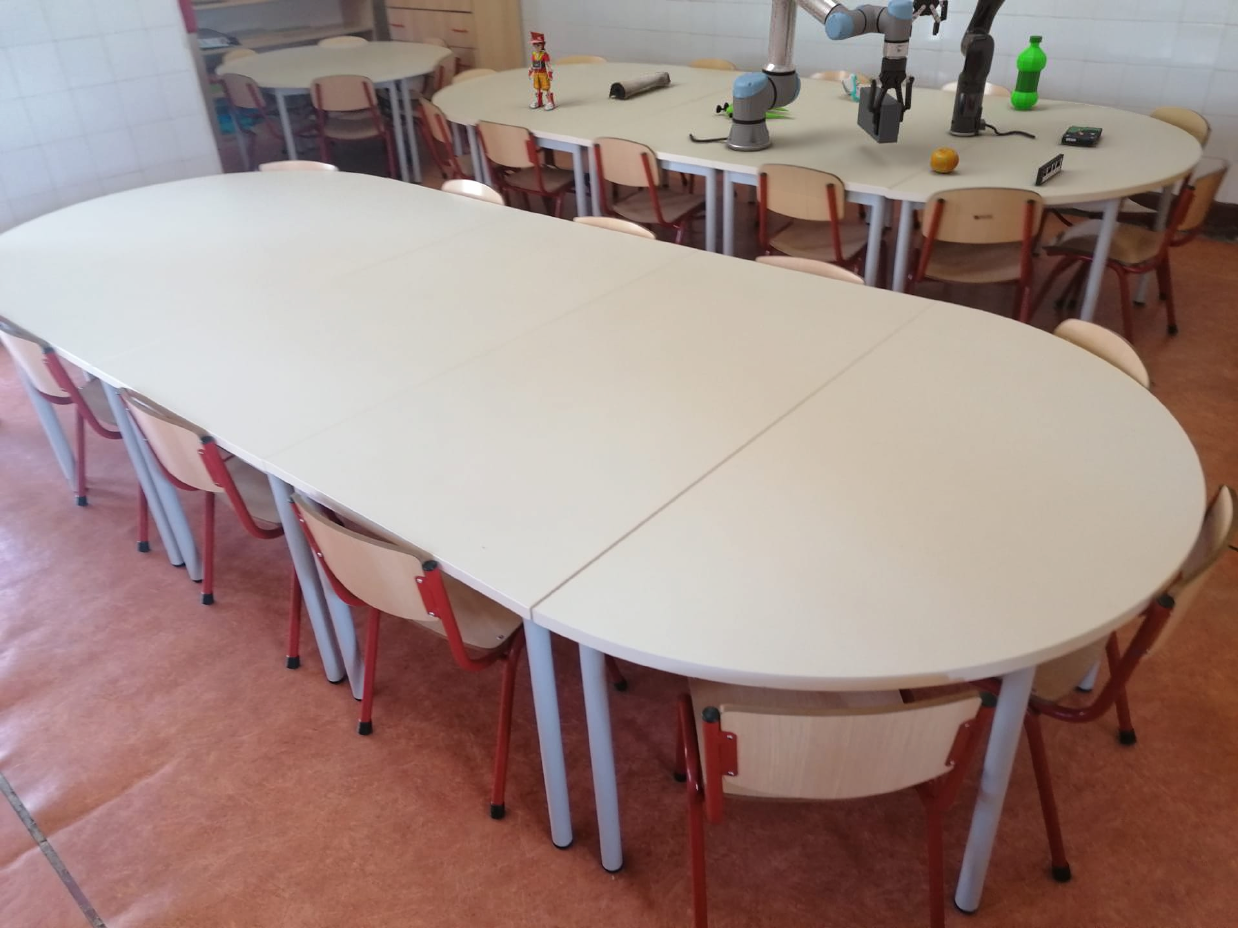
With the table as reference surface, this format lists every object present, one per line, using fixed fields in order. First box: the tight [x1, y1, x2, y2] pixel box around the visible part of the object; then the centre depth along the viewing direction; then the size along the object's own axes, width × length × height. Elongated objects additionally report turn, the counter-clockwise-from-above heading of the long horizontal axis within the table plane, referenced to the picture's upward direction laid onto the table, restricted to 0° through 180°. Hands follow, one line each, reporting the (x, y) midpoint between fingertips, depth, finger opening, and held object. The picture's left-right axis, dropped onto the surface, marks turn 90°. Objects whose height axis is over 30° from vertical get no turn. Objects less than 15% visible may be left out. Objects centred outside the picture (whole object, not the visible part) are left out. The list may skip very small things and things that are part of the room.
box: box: [856, 85, 902, 145], centre depth 296 cm, size 25×6×12 cm, turn 3°
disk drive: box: [1060, 125, 1103, 147], centre depth 304 cm, size 10×3×15 cm
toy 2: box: [715, 101, 793, 119], centre depth 353 cm, size 28×5×30 cm
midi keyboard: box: [1035, 153, 1065, 186], centre depth 273 cm, size 18×1×5 cm, turn 138°
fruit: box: [929, 147, 960, 174], centre depth 283 cm, size 8×8×8 cm
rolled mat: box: [608, 71, 672, 101], centre depth 395 cm, size 30×9×10 cm
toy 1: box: [527, 31, 556, 111], centre depth 374 cm, size 12×9×30 cm
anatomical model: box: [841, 72, 870, 102], centre depth 366 cm, size 15×10×10 cm
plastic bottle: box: [1010, 35, 1048, 111], centre depth 335 cm, size 10×10×25 cm
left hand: (885, 133), depth 290 cm, fingers closed on box, 6 cm apart
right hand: (921, 36), depth 295 cm, fingers open, 8 cm apart
